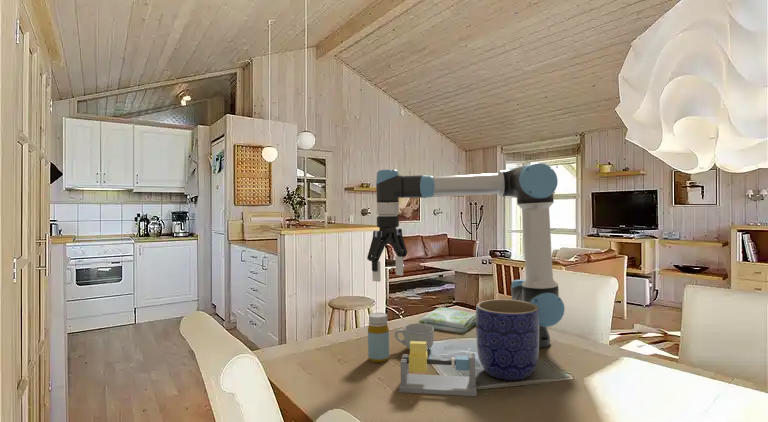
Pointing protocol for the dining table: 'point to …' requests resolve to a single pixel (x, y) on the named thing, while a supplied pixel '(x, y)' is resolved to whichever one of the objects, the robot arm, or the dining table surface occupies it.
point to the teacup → (416, 334)
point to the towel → (449, 320)
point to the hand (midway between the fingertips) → (388, 278)
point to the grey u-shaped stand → (440, 378)
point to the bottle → (378, 338)
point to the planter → (507, 338)
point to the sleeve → (418, 356)
